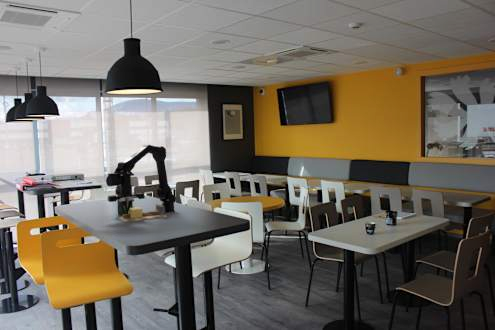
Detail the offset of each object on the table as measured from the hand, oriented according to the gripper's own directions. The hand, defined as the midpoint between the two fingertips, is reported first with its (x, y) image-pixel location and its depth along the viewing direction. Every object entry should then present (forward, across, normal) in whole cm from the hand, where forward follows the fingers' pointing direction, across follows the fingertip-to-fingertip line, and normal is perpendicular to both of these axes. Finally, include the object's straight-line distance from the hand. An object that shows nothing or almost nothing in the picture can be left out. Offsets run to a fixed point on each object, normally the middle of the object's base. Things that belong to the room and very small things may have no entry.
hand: (127, 212), depth 217 cm
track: (+4, -9, 0) cm, 9 cm away
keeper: (+3, -4, 0) cm, 5 cm away
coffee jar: (+4, -3, -19) cm, 19 cm away
